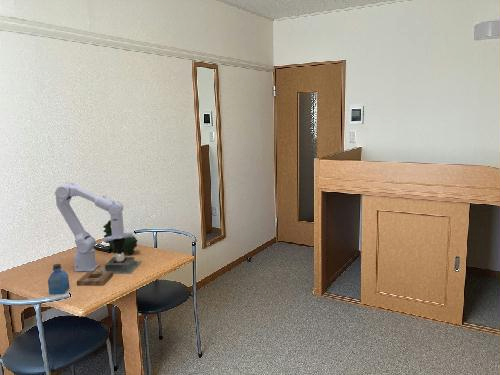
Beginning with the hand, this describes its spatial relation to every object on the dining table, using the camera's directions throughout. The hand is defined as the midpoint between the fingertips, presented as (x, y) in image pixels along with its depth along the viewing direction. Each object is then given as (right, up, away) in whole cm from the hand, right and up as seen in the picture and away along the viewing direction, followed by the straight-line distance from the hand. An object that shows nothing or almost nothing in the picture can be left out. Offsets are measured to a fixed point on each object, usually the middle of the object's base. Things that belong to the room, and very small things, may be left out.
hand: (119, 253), depth 206 cm
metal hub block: (0, -8, +1) cm, 8 cm away
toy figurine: (-6, -4, +25) cm, 26 cm away
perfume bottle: (-18, -13, -25) cm, 34 cm away
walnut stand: (-7, -10, -14) cm, 19 cm away
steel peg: (0, -7, +1) cm, 7 cm away
